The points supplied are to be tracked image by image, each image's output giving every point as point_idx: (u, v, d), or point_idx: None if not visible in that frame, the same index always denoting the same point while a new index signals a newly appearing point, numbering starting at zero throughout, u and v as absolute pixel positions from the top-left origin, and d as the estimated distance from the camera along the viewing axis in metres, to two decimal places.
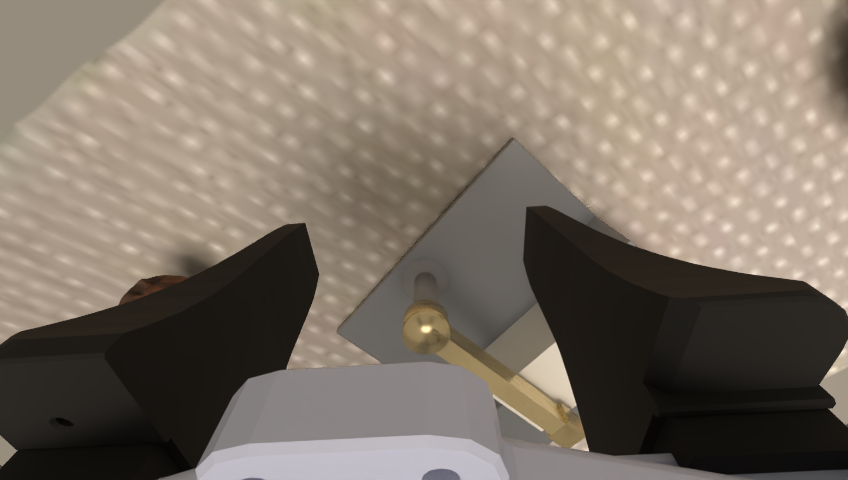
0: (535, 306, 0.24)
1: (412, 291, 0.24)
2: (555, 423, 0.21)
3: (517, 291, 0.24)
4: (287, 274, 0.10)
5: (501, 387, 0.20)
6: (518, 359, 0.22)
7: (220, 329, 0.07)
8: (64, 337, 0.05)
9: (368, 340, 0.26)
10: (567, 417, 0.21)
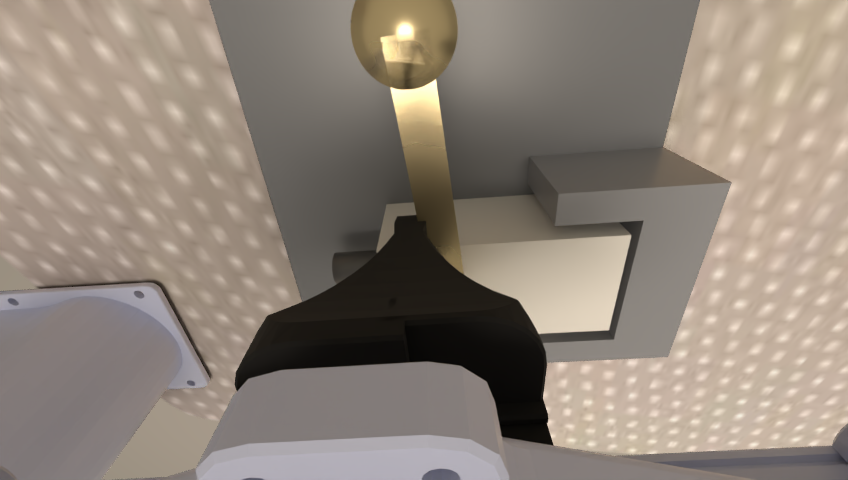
0: (501, 198, 0.16)
1: None
2: None
3: (501, 161, 0.16)
4: None
5: (441, 234, 0.11)
6: None
7: None
8: (341, 319, 0.05)
9: (247, 46, 0.14)
10: None
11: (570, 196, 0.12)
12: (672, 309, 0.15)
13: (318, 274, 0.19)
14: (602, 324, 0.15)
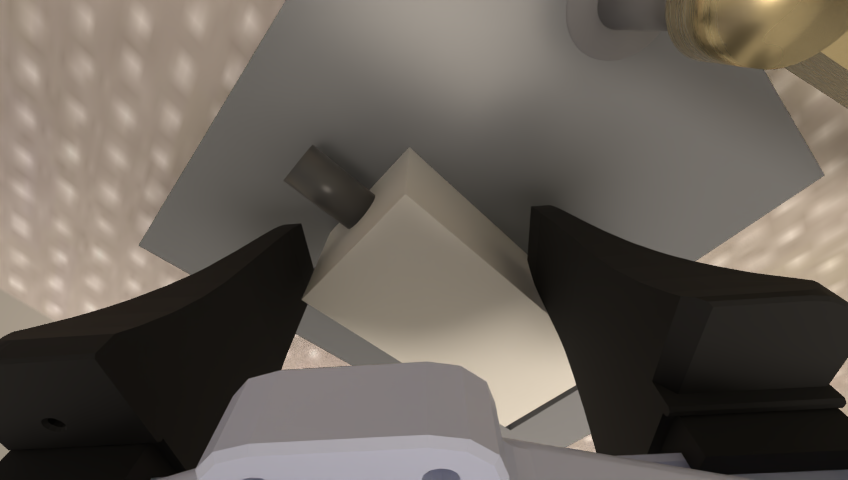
0: (509, 239, 0.14)
1: None
2: None
3: (549, 198, 0.13)
4: (283, 274, 0.10)
5: None
6: (473, 237, 0.11)
7: (214, 330, 0.07)
8: (55, 337, 0.05)
9: None
10: None
11: None
12: (574, 433, 0.14)
13: (253, 139, 0.12)
14: (506, 419, 0.14)
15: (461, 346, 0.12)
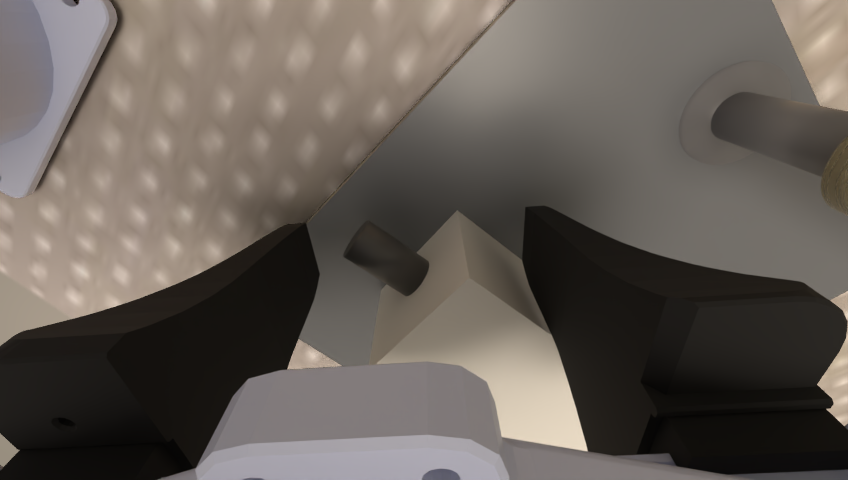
0: None
1: (727, 85, 0.11)
2: None
3: None
4: (289, 274, 0.10)
5: None
6: (529, 304, 0.11)
7: (222, 329, 0.07)
8: (66, 337, 0.05)
9: None
10: None
11: None
12: None
13: (366, 214, 0.13)
14: None
15: (521, 406, 0.12)
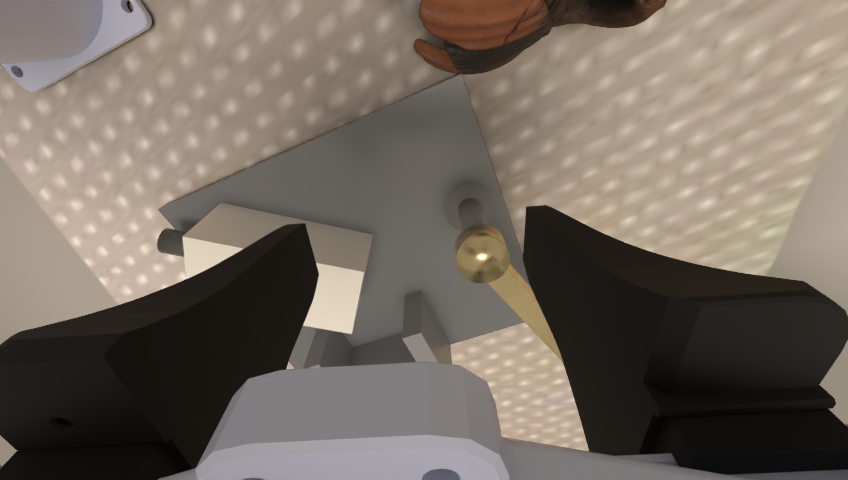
0: (309, 222, 0.22)
1: (467, 192, 0.21)
2: None
3: (412, 277, 0.24)
4: (287, 274, 0.10)
5: (545, 327, 0.19)
6: (244, 238, 0.19)
7: (221, 329, 0.07)
8: (64, 337, 0.05)
9: (429, 108, 0.19)
10: None
11: (421, 337, 0.22)
12: None
13: (264, 187, 0.21)
14: (347, 328, 0.21)
15: None
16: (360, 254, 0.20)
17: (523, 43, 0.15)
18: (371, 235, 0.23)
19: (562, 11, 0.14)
